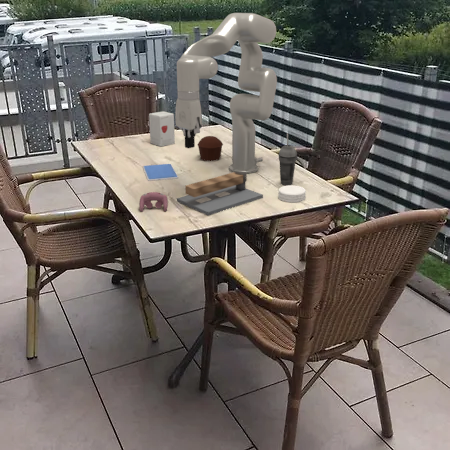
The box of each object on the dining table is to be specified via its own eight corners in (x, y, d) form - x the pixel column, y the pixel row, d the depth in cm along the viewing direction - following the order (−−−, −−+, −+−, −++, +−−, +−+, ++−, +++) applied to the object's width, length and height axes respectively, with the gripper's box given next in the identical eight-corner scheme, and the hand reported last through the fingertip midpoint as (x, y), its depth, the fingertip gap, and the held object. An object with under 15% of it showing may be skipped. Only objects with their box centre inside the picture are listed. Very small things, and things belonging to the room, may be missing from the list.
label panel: (230, 185, 217) (230, 175, 215) (262, 197, 204) (263, 186, 203) (176, 201, 201) (176, 190, 199) (208, 215, 189) (208, 203, 187)
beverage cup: (281, 187, 214) (283, 136, 207) (274, 181, 221) (276, 132, 213) (298, 185, 216) (301, 135, 208) (291, 180, 223) (293, 131, 215)
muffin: (192, 158, 252) (192, 136, 248) (211, 153, 259) (211, 132, 255) (209, 163, 244) (209, 141, 240) (228, 159, 250) (228, 137, 247)
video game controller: (168, 212, 196) (168, 192, 196) (167, 210, 191) (167, 190, 192) (140, 212, 196) (139, 192, 196) (138, 211, 191) (138, 191, 191)
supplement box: (160, 147, 270) (159, 116, 264) (150, 143, 276) (148, 113, 270) (175, 143, 275) (174, 113, 269) (164, 140, 281) (163, 110, 276)
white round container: (310, 197, 205) (311, 188, 203) (295, 205, 198) (295, 196, 196) (288, 191, 211) (288, 183, 209) (272, 198, 204) (272, 189, 203)
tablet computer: (178, 179, 225) (178, 176, 225) (147, 182, 223) (147, 179, 222) (171, 166, 243) (171, 163, 242) (142, 168, 240) (142, 165, 239)
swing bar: (240, 177, 211) (240, 170, 210) (249, 181, 208) (249, 173, 207) (185, 193, 196) (185, 185, 194) (194, 197, 192) (194, 189, 191)
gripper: (167, 94, 195) (169, 145, 202) (193, 99, 185) (194, 153, 192) (184, 91, 200) (185, 141, 207) (210, 97, 189) (211, 149, 197)
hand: (189, 147), depth 199 cm, fingers closed
